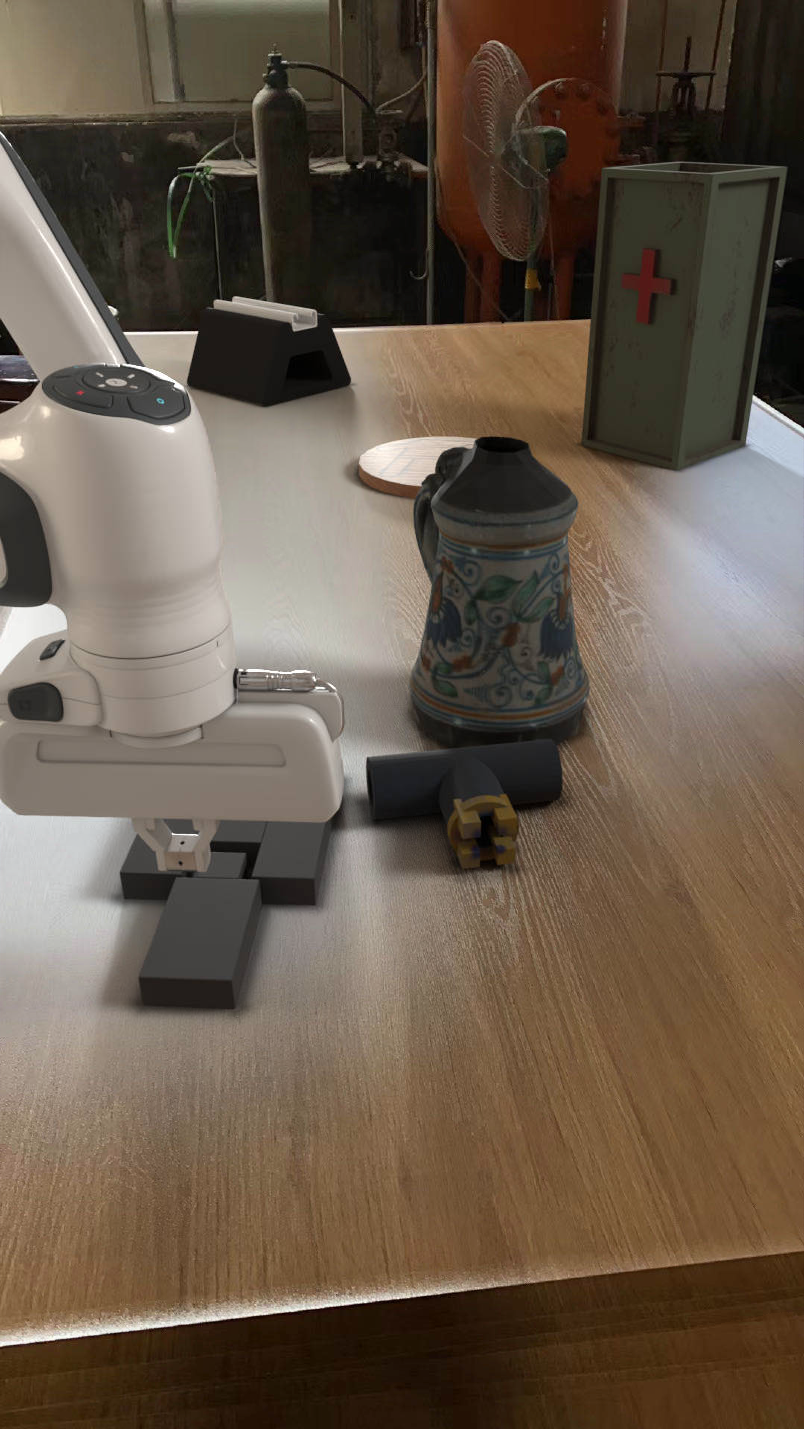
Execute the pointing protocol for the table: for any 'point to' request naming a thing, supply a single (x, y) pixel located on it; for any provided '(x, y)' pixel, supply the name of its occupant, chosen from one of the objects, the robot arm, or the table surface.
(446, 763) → the pipe connector
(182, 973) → the black tile
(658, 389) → the first aid box
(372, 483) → the trivet
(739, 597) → the table surface
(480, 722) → the beer stein
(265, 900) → the base pad
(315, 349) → the device stand
